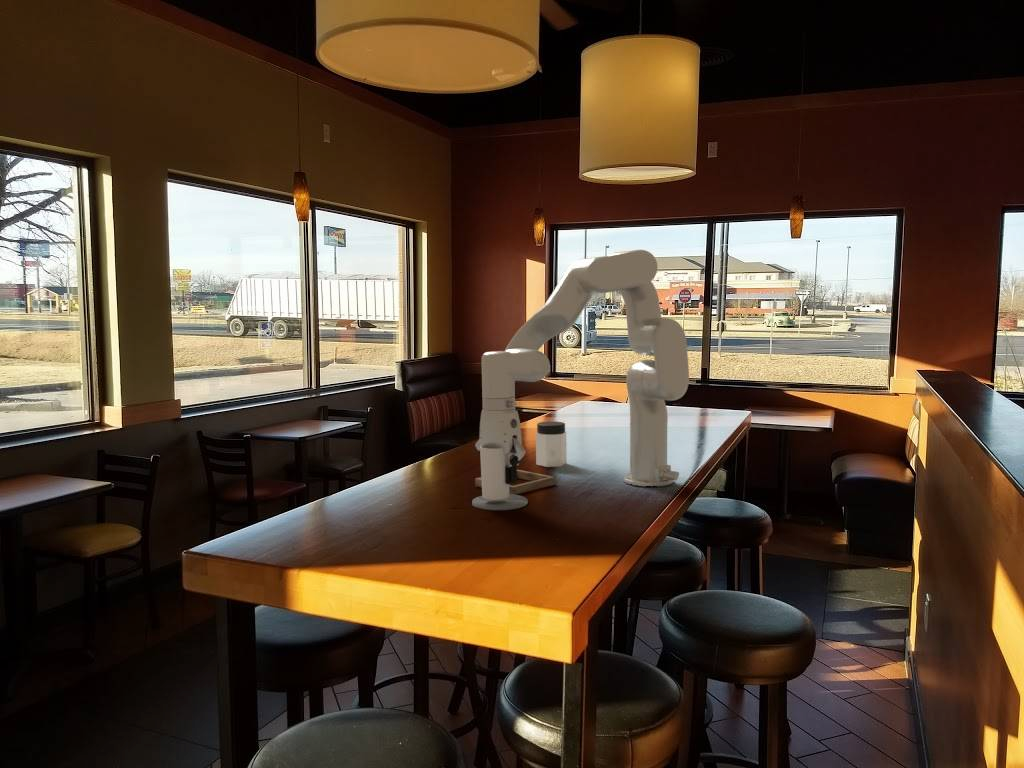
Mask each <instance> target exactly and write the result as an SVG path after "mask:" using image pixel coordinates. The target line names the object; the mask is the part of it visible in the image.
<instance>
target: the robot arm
mask: <svg viewBox="0 0 1024 768" xmlns="http://www.w3.org/2000/svg"><path fill="white" fill-rule="evenodd" d="M657 273H658V261H657V260H656V257H655V256H654V255H653V253H651V252H650V251H648V250H645V249H634V250H624V251H616V252H612V253H609V254H606V255H605V256H596V257H589V258H587V257H586V258H581V259H577V260H575V261H574V262H573V261H572V263H571V264H570V265H569V267H567V269H566V270H565V272H564V274H563V275H562V277H561V278H560V280H559V281H558V283H557V284H556V286H555V288H554V290H552V293H551V294H550V295H549V297H548V299H547V300H546V302H545V303H544V305H543V306H542V307H541V308H540V309H538V310H537V311H536V312H535V313H534V314H533V315H532V316H531V317H530V318H529V319H528V320H527V321H526V322H525V323H523V325H521V327H520V328H519V329H518V330H517V331H516V332H515V334H514V336H512V338H511V339H510V341H509V343H508V344H507V346H506V347H505V349H504V350H493V351H486V352H484V353H483V354H482V356H481V387H482V388H481V389H482V392H481V393H482V394H481V395H482V396H481V397H482V410H481V412H480V419H479V420H480V421H479V439H478V440H477V441H476V442H475V444H474V445H475V448H476V450H477V451H478V454H479V455H480V446H482V445H484V448H487V449H499V448H503V454H504V455H506V464H507V466H508V467H505V481H506V484H509V485H511V484H515V483H517V482H518V478H517V470H518V469H517V468H518V466H519V465H520V462H521V461H522V458H524V456H525V454H526V453H527V451H526V449H525V448H524V447H523V441H522V440H523V438H522V430H521V429H522V428H521V421H520V416H519V413H518V410H516V407H517V401H516V397H515V396H516V394H515V393H516V390H515V389H516V386H515V382H529V383H532V382H533V383H534V382H539V381H541V380H542V379H544V378H545V377H546V376H548V374H549V372H550V368H551V367H550V366H551V365H550V364H551V363H550V359H549V358H548V356H547V355H546V353H543V352H542V351H540V349H541V348H542V347H543V345H545V344H546V343H547V342H548V341H549V340H551V339H553V338H554V337H556V336H558V335H560V334H562V333H564V332H567V331H568V330H569V329H571V328H572V327H573V326H574V325H575V324H576V323H577V321H578V319H579V318H580V316H581V314H582V312H583V311H584V309H585V308H586V306H587V304H588V303H589V301H590V300H591V298H592V297H593V295H594V294H608V293H609V294H610V293H613V292H618V293H619V294H620V295H621V297H622V299H623V302H624V307H625V314H626V316H625V317H626V325H627V337H628V338H627V339H628V346H629V347H630V350H632V352H634V353H636V354H637V355H642V356H650V357H654V359H642V360H638V361H636V362H634V363H633V364H632V365H631V366H630V367H629V368H628V371H627V373H626V377H625V378H626V379H625V380H626V381H625V383H626V390H627V394H628V401H629V473H628V474H625V475H624V476H623V481H624V482H625V483H626V484H628V485H631V484H632V486H636V485H637V486H638V487H646V486H651V487H652V486H657V487H664V486H668V485H669V486H670V485H671V484H673V483H674V481H678V479H679V476H680V472H679V471H674V470H672V466H671V465H670V464H668V419H669V418H668V408H667V405H666V401H677V400H679V399H681V398H682V397H683V396H684V395H685V394H686V392H687V390H688V387H689V384H690V383H689V382H690V371H689V357H688V356H689V355H688V343H687V337H686V336H687V335H686V333H685V330H684V328H683V327H682V325H681V324H680V323H679V322H678V321H676V320H675V319H672V318H668V317H662V314H661V306H660V301H659V295H658V291H657V289H656V287H655V285H654V284H653V282H652V281H653V280H654V279H655V278H656V275H657ZM651 487H650V488H651Z"/></svg>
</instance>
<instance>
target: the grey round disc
mask: <svg viewBox="0 0 1024 768" xmlns="http://www.w3.org/2000/svg"><path fill="white" fill-rule="evenodd" d="M471 502H472V503H471V505H472V506H473V507H474V508H476V509H480V510H486V511H510V510H512V511H513V510H516V509H517V510H518V509H521V508H523V507H526V506H527V505H528V504H529V503H528V502H529V501H528V498H526V497H525V496H523V495H520V494H516V495H513V494H509V497H508V498H506V499H503V500H487V499H484V498H483V497H482V495H480V496H476V497H475V498H473V499H472V501H471Z"/></svg>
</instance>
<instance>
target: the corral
mask: <svg viewBox="0 0 1024 768" xmlns="http://www.w3.org/2000/svg"><path fill="white" fill-rule="evenodd" d="M555 477H556V476H553V475H547V474H541V473H538V472H537V473H536V472H531V471H527V470H522V469H521V470H520V469H517V479H521V480H526V481H527V482H523V483H519V484H515V485H511V484H509V494H513V495H520V494H525V493H527V492H532V491H535V490H540V489H543V488H547V487H551V486H554V485H556V478H555ZM474 486H475V487H476V488H477V487H478V488H481V489H482V477H481V476H480V477H476V478H474Z"/></svg>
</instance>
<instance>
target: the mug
mask: <svg viewBox="0 0 1024 768" xmlns="http://www.w3.org/2000/svg"><path fill="white" fill-rule="evenodd" d="M479 456H480V475H481V476H480V477H482V488H481V492H482V493H481V496H482V497H483V498H484V499H487V500H503V499H506V498H508V497H509V485H510V484H506V481H505V467H508V466H507V464H506V455H504V454H503V448H499V449H487V448H484V445H482V446H480V454H479Z"/></svg>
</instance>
